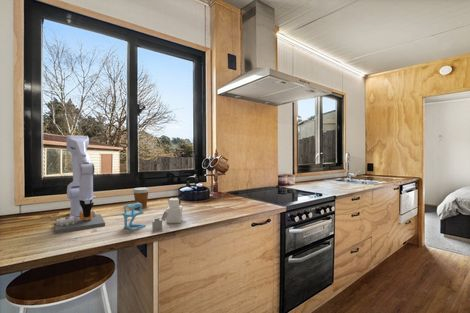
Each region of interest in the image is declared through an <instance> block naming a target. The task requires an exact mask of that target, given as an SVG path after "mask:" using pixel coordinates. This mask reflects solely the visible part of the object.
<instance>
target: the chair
mask: <svg viewBox="0 0 470 313" xmlns="http://www.w3.org/2000/svg"><path fill="white" fill-rule="evenodd" d="M137 207H140V209H139V211H138V210H135V209H138V208H137ZM122 208H123V209H124V212H123V213H122V216H123V219H124V222H123V223H124V228H125V229H127V230H129V231H131V232H135V231H137V230H140V229H144V228H146V224H144V223H133V222H134V220H135V218H136V217H137V216H140V215H143V214H144V211H142V209H143V208H142V204H141V203H139V202H136V203H135V202H134V203H132V204H130V203H129V204H126V205H123V207H122ZM126 208H129V209H130V211H128V210H127V209H126ZM127 211H128V212H127ZM128 218H131V219H130V220H129V223H128ZM132 227H134V228H132Z"/></svg>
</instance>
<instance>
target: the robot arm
mask: <svg viewBox="0 0 470 313" xmlns="http://www.w3.org/2000/svg"><path fill="white" fill-rule="evenodd" d="M65 139H66V141H65V142H66V150H67V151H68V152H70V154H71V163H72V164H71V167H72V168H71V169H72V181H71V182H70V183H69V184H68V185H67V188H66V197H67V198H68V199H69V200H70V202H69V203H70V212H69V217H72V216H74V217H80V212H81V211H83V214H84V217H89V216H90V212H91V210H92V208H93V205H94V203H95V202H93V199H96V197H97V196H96V195H94V176H93V175H95V170H96V169H95V165H94V163H93V162H92V160H91V158H90V154H89V153H87V150H88V147H89V145H90V144H89V142H90V139H89V136H88V135H74V134H73V135H72V134H71V135H70V134H67V135H66V138H65Z"/></svg>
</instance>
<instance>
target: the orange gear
mask: <svg viewBox="0 0 470 313" xmlns="http://www.w3.org/2000/svg"><path fill="white" fill-rule="evenodd" d="M93 212H94V210H92V209H91V212H90V216H89V217H84V214H83V211H81V212H80V216H79V217H80V219H81V220H88V219H92V218H93Z"/></svg>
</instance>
